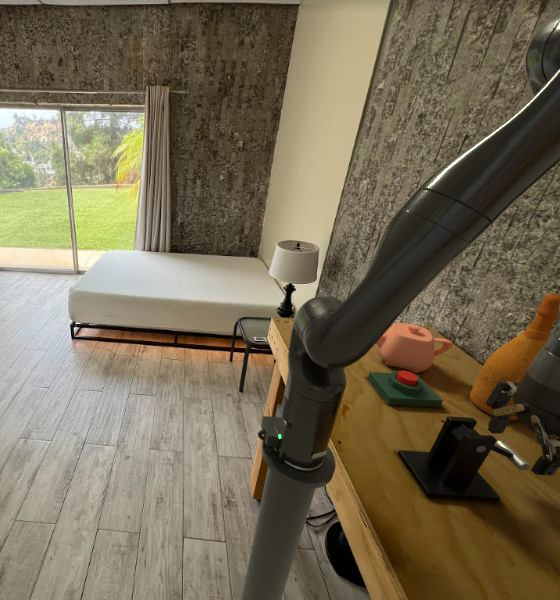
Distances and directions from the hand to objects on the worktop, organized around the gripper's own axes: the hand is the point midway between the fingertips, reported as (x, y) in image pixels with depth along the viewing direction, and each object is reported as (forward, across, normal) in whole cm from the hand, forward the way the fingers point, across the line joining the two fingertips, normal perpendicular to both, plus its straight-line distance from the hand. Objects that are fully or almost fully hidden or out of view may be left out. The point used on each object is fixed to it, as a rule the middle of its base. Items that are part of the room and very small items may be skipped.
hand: (515, 451), depth 57 cm
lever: (0, 0, -6) cm, 6 cm away
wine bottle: (+8, -20, +16) cm, 27 cm away
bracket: (+8, 0, -9) cm, 12 cm away
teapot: (+8, -38, +4) cm, 39 cm away
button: (+4, -24, -3) cm, 25 cm away
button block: (+8, -24, -3) cm, 25 cm away
